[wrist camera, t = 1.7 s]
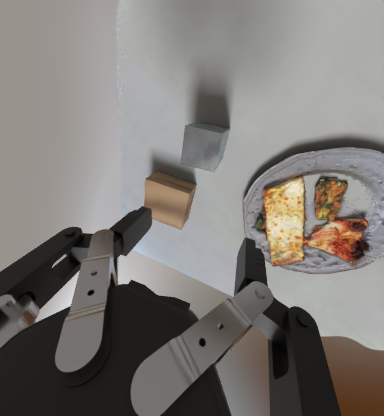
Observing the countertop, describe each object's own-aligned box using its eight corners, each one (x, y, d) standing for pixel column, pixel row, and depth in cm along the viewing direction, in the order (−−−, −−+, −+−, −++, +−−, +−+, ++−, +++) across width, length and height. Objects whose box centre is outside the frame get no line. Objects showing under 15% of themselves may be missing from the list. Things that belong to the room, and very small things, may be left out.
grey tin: (201, 122, 27) (185, 125, 20) (230, 128, 26) (223, 133, 19) (195, 152, 29) (180, 163, 23) (222, 159, 28) (214, 172, 22)
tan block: (158, 171, 34) (145, 178, 30) (196, 184, 33) (189, 194, 29) (155, 204, 39) (143, 215, 35) (188, 217, 38) (181, 229, 34)
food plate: (376, 272, 30) (389, 289, 27) (247, 261, 39) (247, 272, 36) (434, 130, 20) (466, 131, 17) (240, 158, 28) (238, 163, 25)
